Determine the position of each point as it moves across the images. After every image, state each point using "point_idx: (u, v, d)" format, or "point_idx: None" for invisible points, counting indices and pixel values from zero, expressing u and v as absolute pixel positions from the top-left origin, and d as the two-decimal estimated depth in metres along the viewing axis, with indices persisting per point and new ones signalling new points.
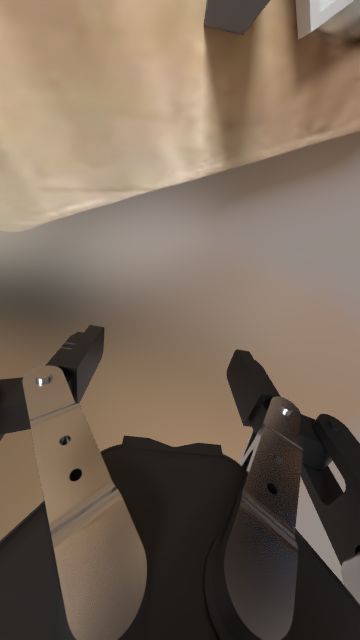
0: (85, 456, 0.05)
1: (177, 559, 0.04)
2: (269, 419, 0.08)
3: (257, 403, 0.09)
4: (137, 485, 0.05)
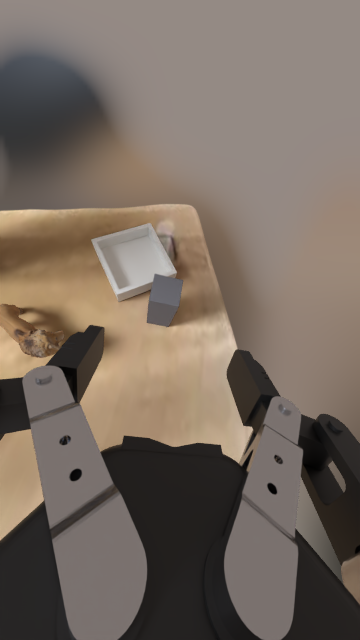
0: (85, 456, 0.05)
1: (176, 560, 0.04)
2: (269, 419, 0.08)
3: (257, 403, 0.09)
4: (137, 485, 0.05)
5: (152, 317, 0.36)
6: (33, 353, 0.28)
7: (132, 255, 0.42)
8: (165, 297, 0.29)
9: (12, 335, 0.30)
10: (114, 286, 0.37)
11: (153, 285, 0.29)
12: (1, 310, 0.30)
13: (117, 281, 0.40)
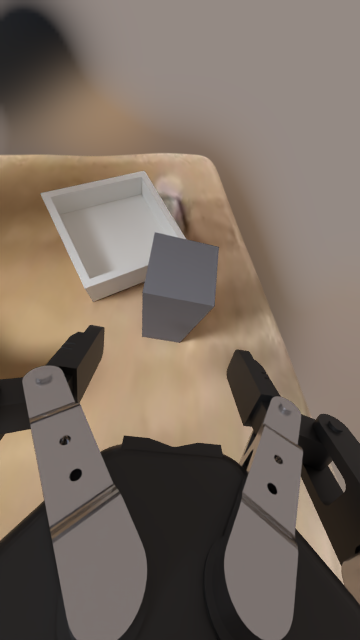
0: (85, 456, 0.05)
1: (177, 560, 0.04)
2: (269, 419, 0.08)
3: (257, 403, 0.09)
4: (137, 485, 0.05)
5: (152, 329, 0.19)
6: None
7: (116, 225, 0.25)
8: (181, 285, 0.12)
9: None
10: (80, 273, 0.20)
11: (152, 257, 0.12)
12: None
13: (90, 266, 0.23)
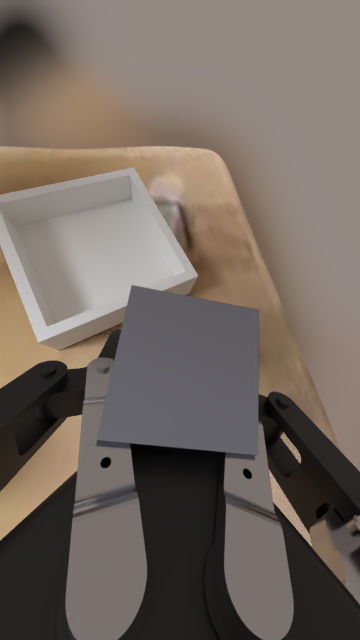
0: (117, 448, 0.05)
1: (177, 559, 0.04)
2: None
3: None
4: (137, 485, 0.05)
5: None
6: None
7: (95, 241, 0.19)
8: (185, 410, 0.06)
9: None
10: (33, 318, 0.14)
11: (124, 345, 0.06)
12: None
13: (55, 301, 0.17)
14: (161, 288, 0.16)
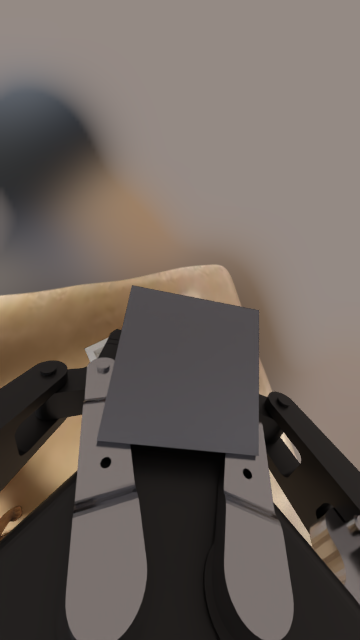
0: (117, 448, 0.05)
1: (177, 560, 0.04)
2: None
3: None
4: (137, 485, 0.05)
5: None
6: None
7: None
8: (186, 410, 0.06)
9: None
10: None
11: (125, 346, 0.06)
12: None
13: None
14: None
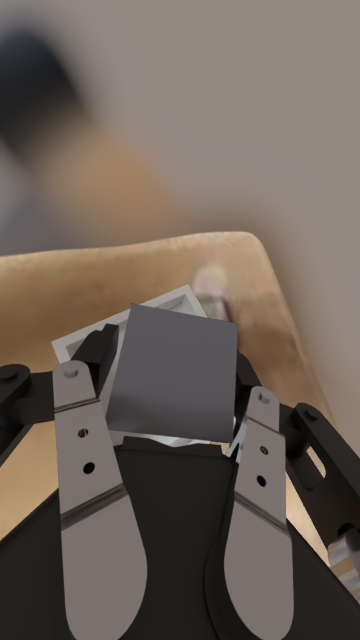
0: (99, 451, 0.05)
1: (177, 559, 0.04)
2: (251, 410, 0.08)
3: (239, 393, 0.10)
4: (137, 485, 0.05)
5: None
6: None
7: None
8: (174, 406, 0.07)
9: None
10: None
11: (125, 353, 0.07)
12: None
13: (118, 433, 0.17)
14: None
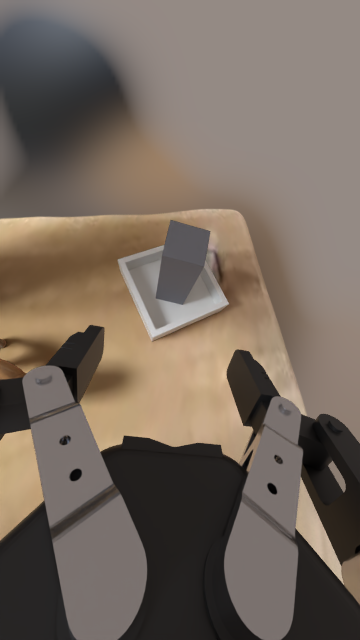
0: (85, 456, 0.05)
1: (177, 559, 0.04)
2: (269, 419, 0.08)
3: (257, 403, 0.09)
4: (137, 485, 0.05)
5: (163, 289, 0.27)
6: None
7: None
8: (185, 253, 0.20)
9: None
10: (149, 325, 0.27)
11: (168, 235, 0.21)
12: None
13: (150, 314, 0.30)
14: (209, 310, 0.30)
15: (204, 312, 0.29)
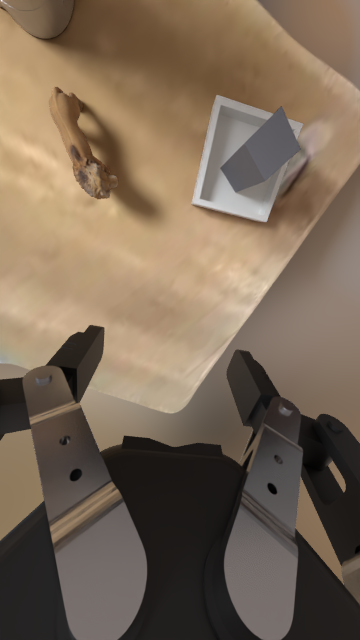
0: (85, 456, 0.05)
1: (176, 559, 0.04)
2: (269, 419, 0.08)
3: (257, 403, 0.09)
4: (137, 485, 0.05)
5: (230, 167, 0.28)
6: (84, 189, 0.27)
7: None
8: (262, 156, 0.22)
9: (68, 149, 0.26)
10: (197, 191, 0.31)
11: (265, 125, 0.21)
12: (61, 106, 0.24)
13: (205, 180, 0.32)
14: (248, 215, 0.33)
15: (243, 214, 0.33)
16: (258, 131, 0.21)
